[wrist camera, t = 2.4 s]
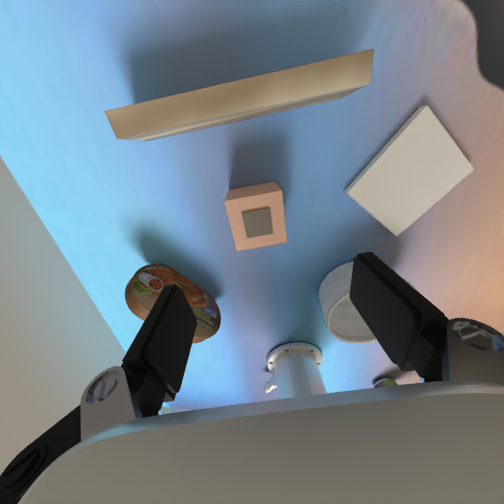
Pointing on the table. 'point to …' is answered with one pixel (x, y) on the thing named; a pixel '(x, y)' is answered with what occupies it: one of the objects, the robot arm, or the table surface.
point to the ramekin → (343, 307)
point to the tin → (202, 304)
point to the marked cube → (256, 215)
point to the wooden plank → (243, 98)
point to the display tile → (410, 173)
